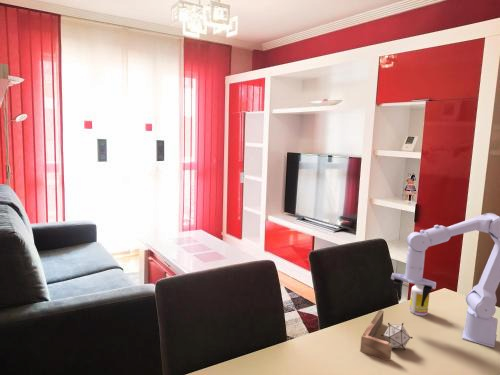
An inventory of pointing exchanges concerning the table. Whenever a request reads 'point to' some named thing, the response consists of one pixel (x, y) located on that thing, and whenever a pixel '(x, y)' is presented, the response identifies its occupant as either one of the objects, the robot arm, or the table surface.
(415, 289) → the supplement bottle
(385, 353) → the l-shaped bracket
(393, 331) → the game die
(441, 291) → the table surface
